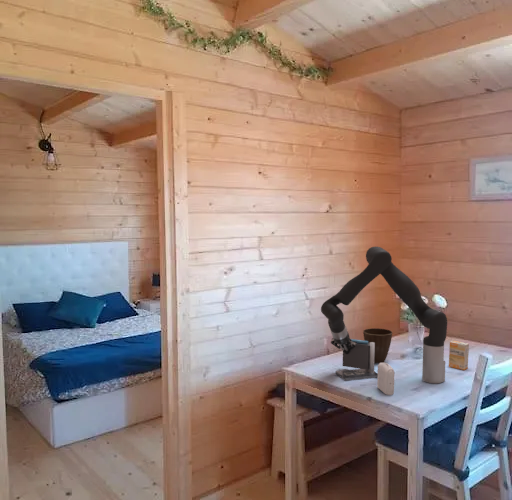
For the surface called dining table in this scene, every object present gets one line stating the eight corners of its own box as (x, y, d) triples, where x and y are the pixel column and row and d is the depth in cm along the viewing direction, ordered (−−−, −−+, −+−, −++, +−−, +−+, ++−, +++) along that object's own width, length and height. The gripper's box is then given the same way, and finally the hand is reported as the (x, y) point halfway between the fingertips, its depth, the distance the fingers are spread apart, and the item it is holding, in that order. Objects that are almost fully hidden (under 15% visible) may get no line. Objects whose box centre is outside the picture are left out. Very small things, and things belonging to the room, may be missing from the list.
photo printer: (395, 394, 221) (396, 366, 220) (386, 395, 220) (386, 367, 219) (384, 386, 231) (385, 360, 230) (376, 387, 230) (376, 360, 229)
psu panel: (368, 370, 254) (368, 367, 254) (380, 377, 244) (380, 374, 244) (335, 373, 249) (335, 370, 249) (345, 380, 239) (345, 377, 239)
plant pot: (366, 365, 262) (367, 335, 260) (359, 357, 277) (360, 328, 275) (395, 365, 262) (396, 334, 261) (387, 357, 277) (387, 328, 276)
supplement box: (448, 367, 260) (449, 341, 259) (452, 365, 263) (453, 340, 262) (464, 370, 254) (465, 344, 253) (468, 368, 257) (469, 343, 256)
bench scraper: (375, 369, 250) (375, 340, 248) (372, 372, 246) (373, 342, 245) (345, 365, 257) (345, 337, 256) (342, 367, 253) (342, 339, 252)
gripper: (355, 327, 238) (362, 347, 250) (328, 324, 245) (336, 344, 256) (351, 341, 234) (358, 361, 246) (324, 337, 240) (332, 356, 252)
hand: (347, 352), depth 251 cm, fingers closed
